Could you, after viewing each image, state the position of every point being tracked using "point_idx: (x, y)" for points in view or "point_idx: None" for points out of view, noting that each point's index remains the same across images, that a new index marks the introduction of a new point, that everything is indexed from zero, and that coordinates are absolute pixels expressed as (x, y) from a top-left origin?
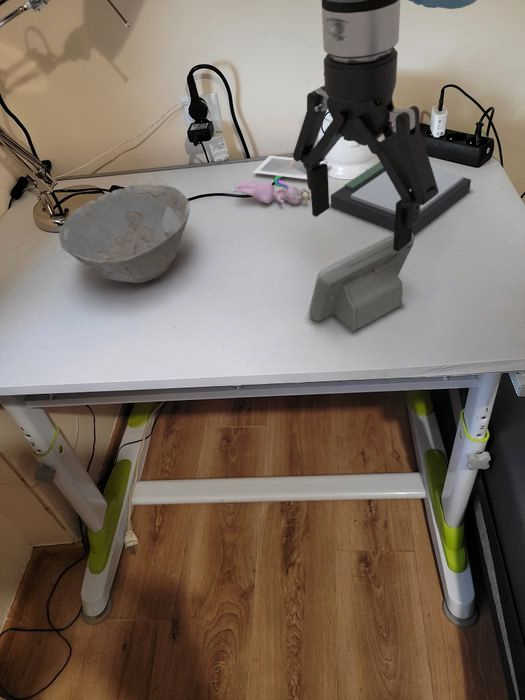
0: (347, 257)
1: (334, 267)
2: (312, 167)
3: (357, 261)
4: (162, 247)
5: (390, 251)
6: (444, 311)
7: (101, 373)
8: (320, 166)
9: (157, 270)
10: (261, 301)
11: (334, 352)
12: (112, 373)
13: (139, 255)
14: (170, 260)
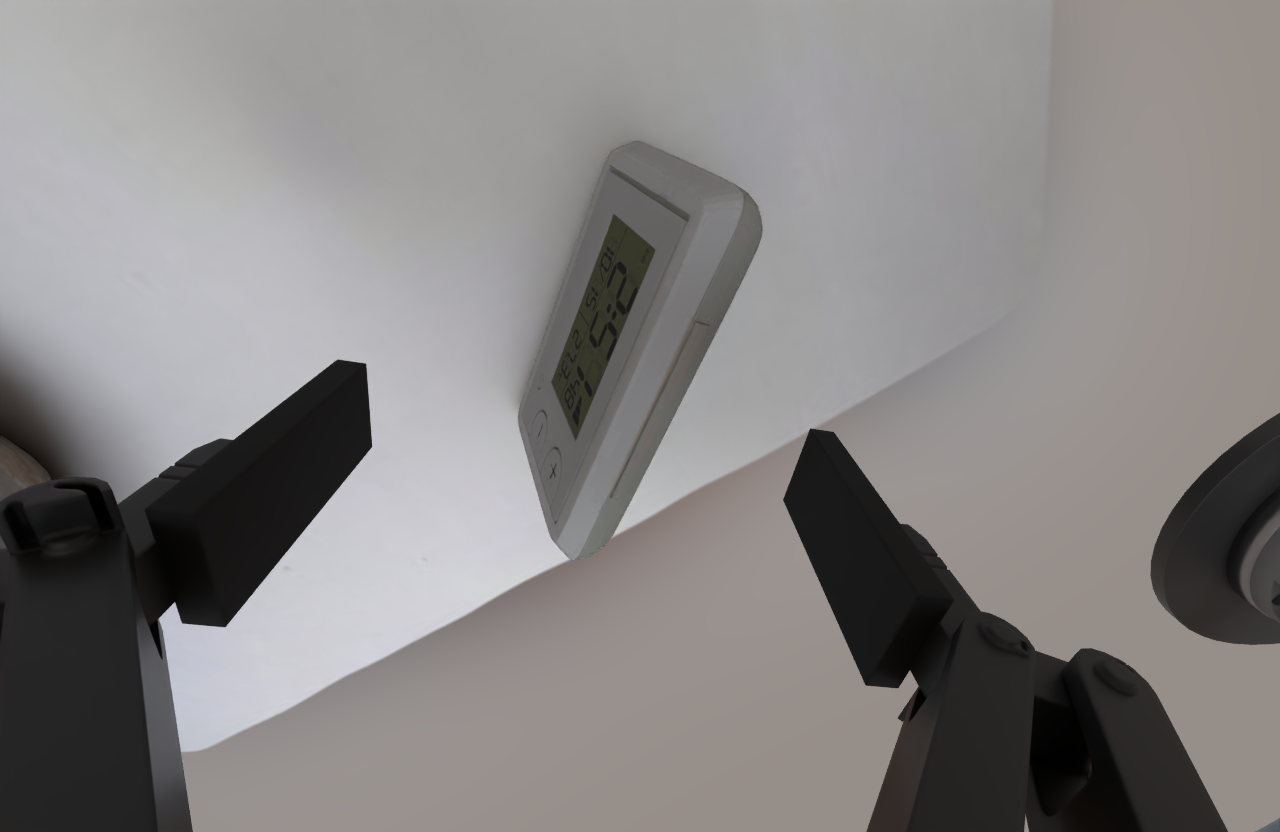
0: (595, 464)
1: (589, 525)
2: (161, 613)
3: (638, 468)
4: None
5: (708, 346)
6: (837, 225)
7: (296, 687)
8: (178, 554)
9: None
10: (373, 420)
11: None
12: (312, 680)
13: None
14: (23, 486)
